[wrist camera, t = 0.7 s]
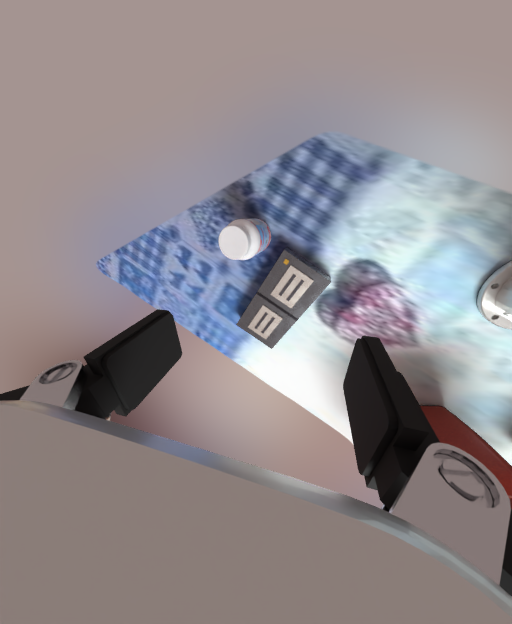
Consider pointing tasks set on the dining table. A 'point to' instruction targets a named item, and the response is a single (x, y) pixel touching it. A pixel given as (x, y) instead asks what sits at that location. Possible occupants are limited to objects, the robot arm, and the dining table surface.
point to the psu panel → (283, 298)
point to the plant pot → (469, 443)
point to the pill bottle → (244, 238)
